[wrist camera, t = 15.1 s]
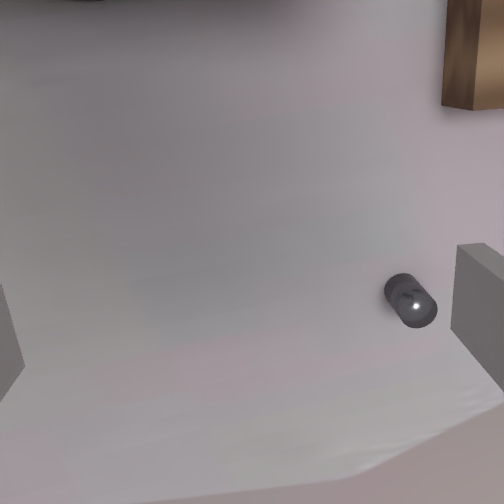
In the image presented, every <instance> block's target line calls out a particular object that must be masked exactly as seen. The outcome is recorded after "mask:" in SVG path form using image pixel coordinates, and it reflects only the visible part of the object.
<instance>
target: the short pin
mask: <svg viewBox="0 0 504 504" xmlns="http://www.w3.org/2000/svg"><path fill="white" fill-rule="evenodd" d="M384 293H385V296H386V298H387V299H388V301H389V302H390V304H391V305H392V307H393V308H394V310H395V311H396V313H397V314H398V316H399V317H400V319H401V320H402V321H403V323H404V324H405V325H407V326H408V327H411V328H422V327H425V326H427V325H428V324H430V323H431V322H432V321H433V320H434V319H435V317H436V315H437V304H436V302H435V301H434V299H433V298H432V297H431V296H430V295H429V294H428V293H427V291H426V290H425V289H424V288H423V287H422V286H421V285H420V283H419V282H418V281H417V280H416V279H415V278H414V277H413V276H411V275H409V274H405V273H402V274H397V275H395V276H393V277H391V278H390V279H389V280H388V282H387V283H386V285H385V289H384Z"/></svg>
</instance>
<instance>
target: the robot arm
mask: <svg viewBox="0 0 504 504" xmlns="http://www.w3.org/2000/svg"><path fill="white" fill-rule="evenodd" d="M77 1H101V0H77ZM450 329H451V330H452V331H453V332H454V333H455V335H456V336H457V337H458V338H459V339H460V341H461V342H462V343H463V344H464V345H465V346H466V348H467V349H468V350H469V351H470V352H471V354H472V355H473V356H474V357H475V358H476V360H477V361H478V362H479V363H480V364H481V365H482V367H483V368H484V369H485V370H486V371H487V373H488V374H489V375H490V376H491V377H492V378H493V380H494V381H495V382H496V383H497V384H498V386H499V387H500V388H501V389H502V390H503V392H504V257H503V256H502V255H501V254H499V253H498V252H496V251H495V250H493V249H492V248H490V247H489V246H487V245H486V244H485V243H476V244H464V245H457V254H456V266H455V279H454V291H453V303H452V316H451V328H450ZM24 367H25V364H24V360H23V357H22V353H21V350H20V347H19V343H18V340H17V336H16V333H15V329H14V326H13V323H12V319H11V316H10V312H9V309H8V305H7V302H6V299H5V295H4V292H3V288H2V285H0V402H1V400H2V399H3V397H4V396H5V394H6V393H7V392H8V390H9V389H10V387H11V386H12V384H13V383H14V382H15V380H16V379H17V377H18V376H19V374H20V373H21V371H22V370H23V369H24Z"/></svg>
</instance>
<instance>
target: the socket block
mask: <svg viewBox="0 0 504 504" xmlns="http://www.w3.org/2000/svg"><path fill="white" fill-rule="evenodd" d="M441 105H443V106H449V107H454V108H460V109H466V110H472V111H475V110H487V109H498V108H504V0H448V7H447V23H446V40H445V56H444V72H443V88H442V104H441Z"/></svg>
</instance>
